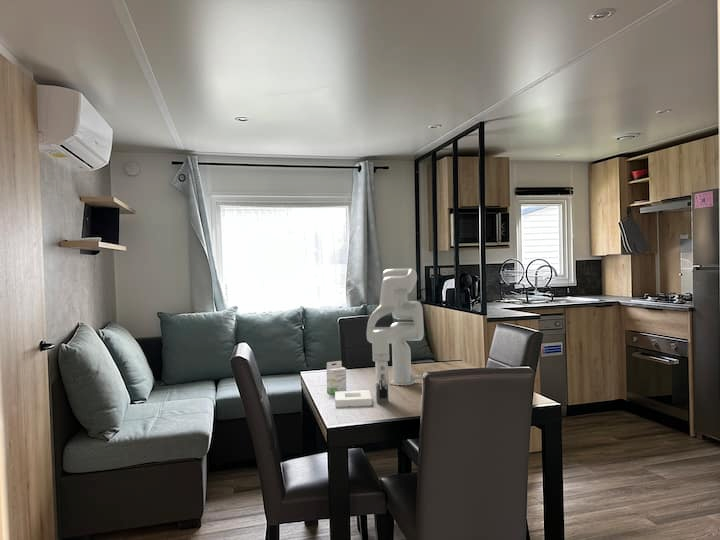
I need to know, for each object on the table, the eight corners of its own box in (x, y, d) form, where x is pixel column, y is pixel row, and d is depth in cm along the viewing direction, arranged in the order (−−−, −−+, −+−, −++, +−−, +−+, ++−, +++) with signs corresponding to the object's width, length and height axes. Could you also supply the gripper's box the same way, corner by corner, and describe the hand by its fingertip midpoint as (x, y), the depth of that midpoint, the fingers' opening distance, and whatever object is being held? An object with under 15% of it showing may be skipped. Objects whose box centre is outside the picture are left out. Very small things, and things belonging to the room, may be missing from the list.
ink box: (330, 394, 245) (329, 363, 245) (326, 392, 249) (325, 362, 249) (347, 392, 249) (346, 361, 249) (342, 390, 253) (341, 360, 253)
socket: (369, 396, 239) (369, 389, 239) (372, 405, 223) (371, 398, 223) (335, 397, 238) (334, 391, 238) (335, 407, 222) (335, 400, 222)
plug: (387, 400, 231) (386, 379, 231) (388, 403, 226) (387, 381, 226) (376, 400, 230) (375, 379, 230) (377, 403, 225) (376, 382, 225)
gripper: (391, 360, 220) (392, 400, 220) (387, 353, 237) (388, 390, 237) (374, 361, 219) (375, 400, 219) (371, 354, 236) (372, 391, 236)
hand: (382, 395), depth 228 cm, fingers open, 9 cm apart
